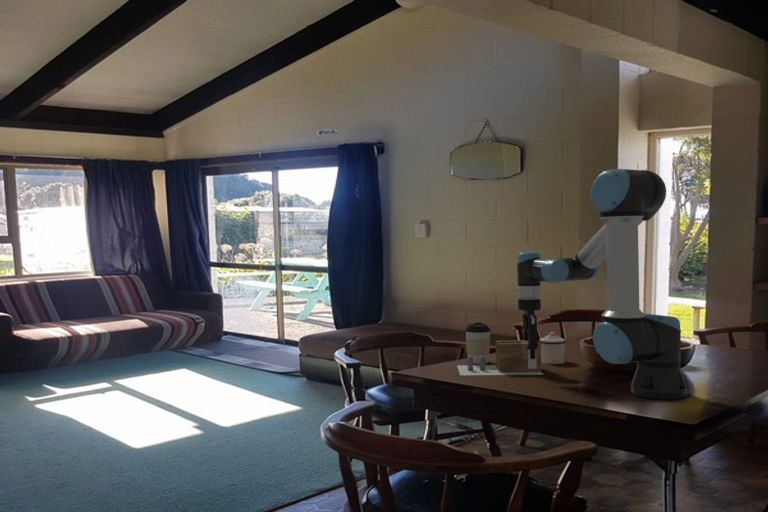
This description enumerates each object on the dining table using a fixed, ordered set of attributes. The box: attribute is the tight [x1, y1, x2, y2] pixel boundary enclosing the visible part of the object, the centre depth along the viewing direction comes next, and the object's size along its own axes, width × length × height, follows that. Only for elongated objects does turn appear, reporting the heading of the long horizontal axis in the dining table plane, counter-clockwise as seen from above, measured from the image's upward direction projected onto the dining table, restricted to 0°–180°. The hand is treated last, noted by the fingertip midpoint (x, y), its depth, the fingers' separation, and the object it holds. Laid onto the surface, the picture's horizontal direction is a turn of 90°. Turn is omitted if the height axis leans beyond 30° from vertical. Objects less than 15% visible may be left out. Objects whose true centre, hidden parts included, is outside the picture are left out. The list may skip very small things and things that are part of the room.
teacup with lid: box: [538, 331, 566, 365], centre depth 242 cm, size 12×9×12 cm
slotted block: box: [495, 339, 542, 371], centre depth 227 cm, size 7×14×9 cm, turn 88°
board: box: [456, 356, 545, 376], centre depth 228 cm, size 16×27×6 cm, turn 88°
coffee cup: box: [465, 322, 491, 365], centre depth 242 cm, size 9×9×15 cm
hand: (530, 365), depth 227 cm, fingers closed on slotted block, 7 cm apart
